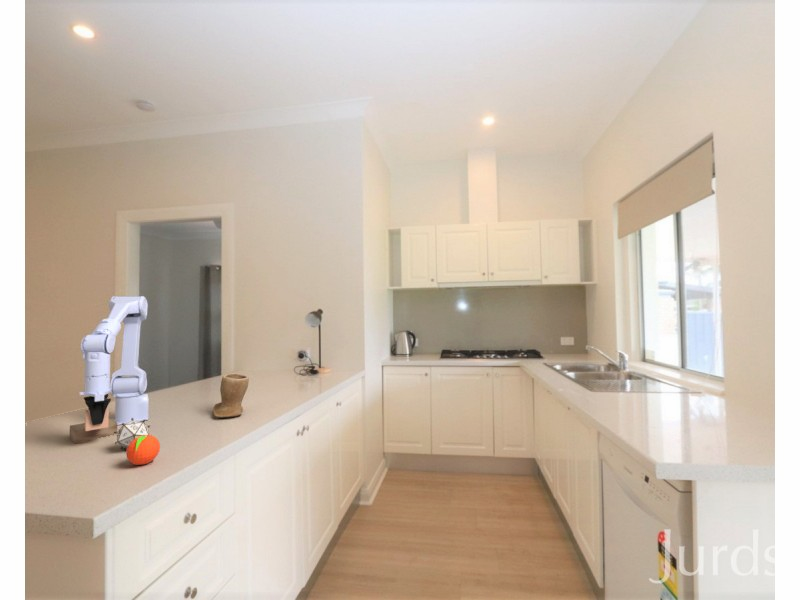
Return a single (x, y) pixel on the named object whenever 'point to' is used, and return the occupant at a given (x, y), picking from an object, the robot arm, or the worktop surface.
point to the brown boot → (231, 395)
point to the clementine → (143, 449)
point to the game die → (131, 432)
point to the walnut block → (91, 432)
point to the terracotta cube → (90, 426)
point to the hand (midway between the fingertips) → (96, 422)
